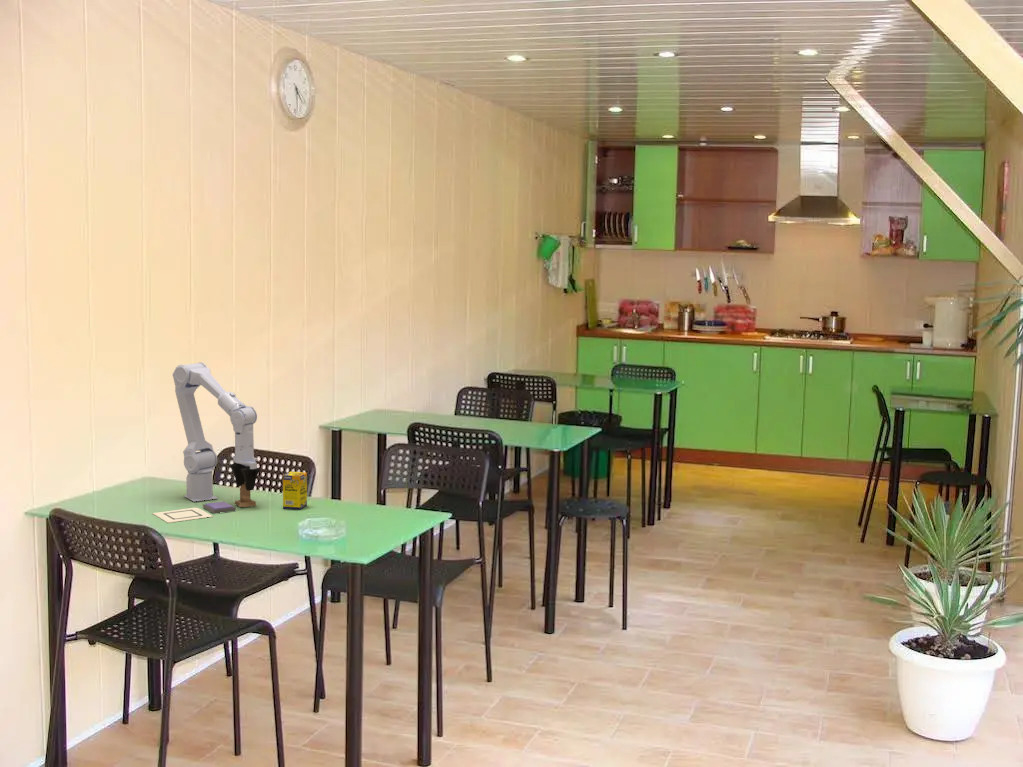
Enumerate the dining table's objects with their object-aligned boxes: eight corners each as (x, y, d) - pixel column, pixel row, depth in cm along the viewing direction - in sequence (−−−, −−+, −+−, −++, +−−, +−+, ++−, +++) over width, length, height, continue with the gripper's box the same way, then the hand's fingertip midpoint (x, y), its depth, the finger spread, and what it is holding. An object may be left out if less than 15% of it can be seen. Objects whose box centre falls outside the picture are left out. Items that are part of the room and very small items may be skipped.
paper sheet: (152, 513, 349) (152, 512, 349) (196, 508, 357) (196, 507, 357) (167, 523, 338) (167, 522, 338) (213, 516, 346) (213, 515, 346)
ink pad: (203, 508, 357) (203, 503, 357) (224, 505, 361) (224, 500, 361) (213, 514, 350) (213, 509, 350) (235, 511, 354) (235, 506, 354)
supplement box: (300, 510, 356) (300, 475, 355) (282, 509, 357) (282, 474, 356) (307, 506, 362) (307, 472, 361) (289, 505, 363) (289, 471, 362)
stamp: (234, 505, 362) (234, 483, 361) (249, 503, 365) (249, 481, 364) (241, 508, 358) (240, 486, 357) (256, 506, 361) (255, 484, 360)
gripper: (265, 447, 356) (266, 490, 357) (247, 441, 367) (248, 482, 369) (244, 449, 352) (245, 493, 353) (226, 443, 363) (227, 485, 365)
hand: (245, 488), depth 361 cm, fingers open, 7 cm apart
